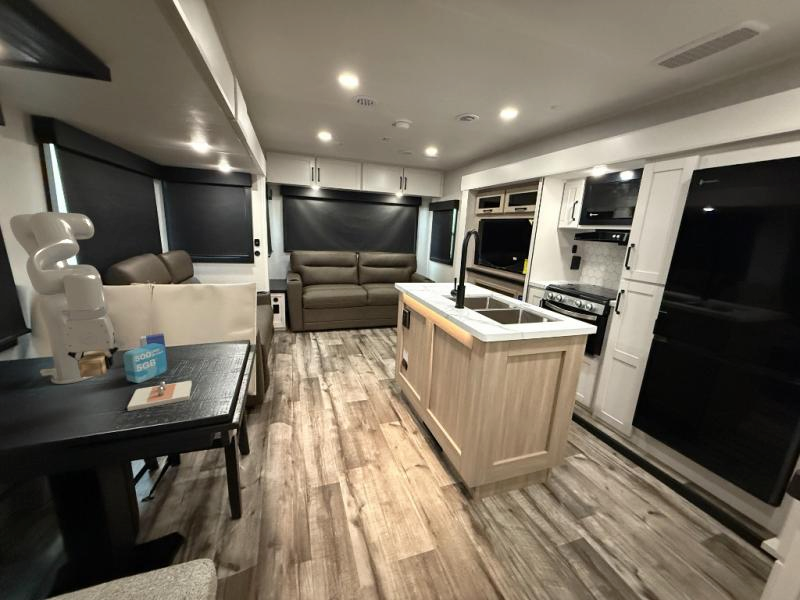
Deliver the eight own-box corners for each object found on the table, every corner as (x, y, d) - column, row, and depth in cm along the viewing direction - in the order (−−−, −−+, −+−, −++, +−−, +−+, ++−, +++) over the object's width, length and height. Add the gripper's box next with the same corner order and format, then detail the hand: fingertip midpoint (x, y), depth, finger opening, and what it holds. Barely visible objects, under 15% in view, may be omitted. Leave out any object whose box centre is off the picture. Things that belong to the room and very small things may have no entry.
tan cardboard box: (80, 377, 91) (78, 362, 90) (91, 364, 98) (89, 350, 97) (103, 374, 93) (100, 359, 92) (112, 362, 101) (110, 348, 100)
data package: (136, 384, 112) (131, 354, 109) (126, 382, 113) (122, 352, 110) (167, 371, 123) (164, 343, 121) (159, 369, 124) (155, 341, 122)
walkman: (166, 358, 134) (163, 332, 132) (166, 360, 132) (163, 334, 130) (143, 362, 129) (139, 335, 127) (143, 364, 127) (139, 337, 125)
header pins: (158, 396, 103) (157, 388, 102) (160, 389, 107) (159, 381, 107) (163, 395, 103) (162, 387, 103) (165, 388, 108) (164, 380, 107)
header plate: (128, 411, 97) (127, 406, 96) (137, 393, 107) (136, 389, 106) (188, 399, 105) (188, 395, 104) (191, 384, 115) (191, 380, 114)
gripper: (40, 319, 84) (53, 379, 88) (121, 314, 92) (129, 369, 97) (53, 312, 90) (64, 368, 95) (128, 308, 99) (135, 359, 103)
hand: (97, 368), depth 96 cm, fingers closed on tan cardboard box, 5 cm apart
